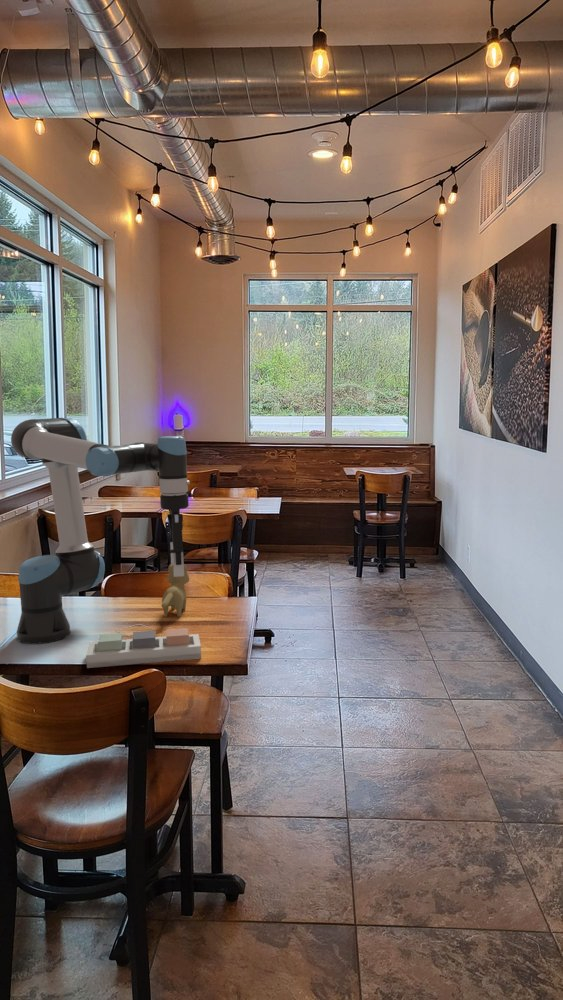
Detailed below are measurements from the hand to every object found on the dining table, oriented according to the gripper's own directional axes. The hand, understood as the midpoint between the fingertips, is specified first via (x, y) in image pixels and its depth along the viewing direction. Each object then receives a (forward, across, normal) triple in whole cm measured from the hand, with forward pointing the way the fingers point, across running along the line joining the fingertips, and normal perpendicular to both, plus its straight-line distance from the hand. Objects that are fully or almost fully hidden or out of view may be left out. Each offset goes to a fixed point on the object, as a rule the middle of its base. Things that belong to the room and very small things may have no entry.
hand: (177, 570), depth 192 cm
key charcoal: (+19, -2, +10) cm, 22 cm away
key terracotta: (+19, -2, +1) cm, 19 cm away
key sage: (+19, -2, +19) cm, 27 cm away
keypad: (+23, -2, +10) cm, 25 cm away
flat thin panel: (+24, +19, +10) cm, 32 cm away
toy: (+23, +33, 0) cm, 41 cm away
